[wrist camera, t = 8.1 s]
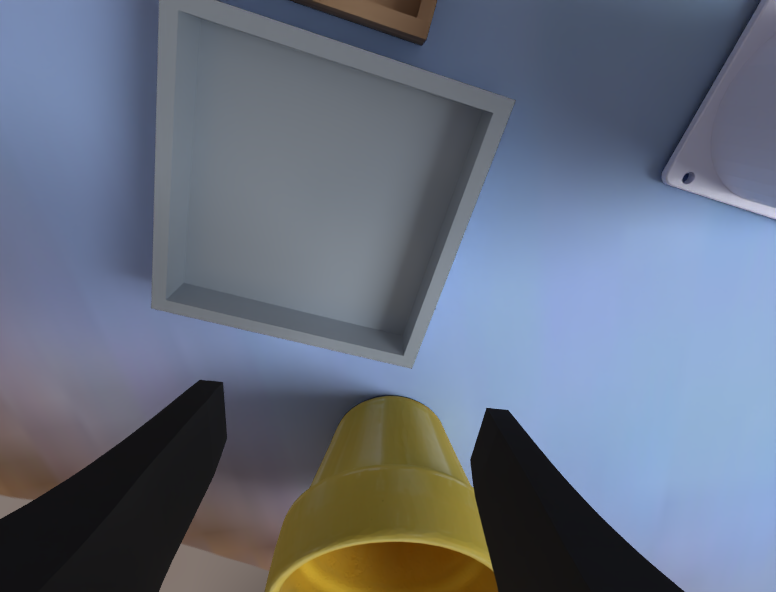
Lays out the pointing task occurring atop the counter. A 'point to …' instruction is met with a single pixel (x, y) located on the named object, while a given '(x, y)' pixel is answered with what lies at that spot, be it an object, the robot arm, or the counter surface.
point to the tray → (383, 15)
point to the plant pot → (385, 511)
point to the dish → (309, 181)
